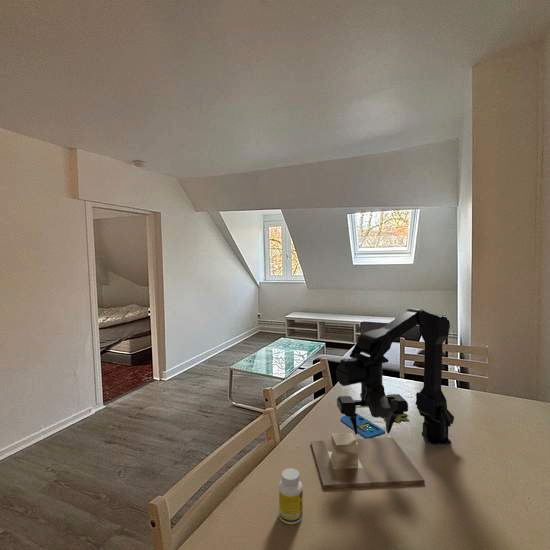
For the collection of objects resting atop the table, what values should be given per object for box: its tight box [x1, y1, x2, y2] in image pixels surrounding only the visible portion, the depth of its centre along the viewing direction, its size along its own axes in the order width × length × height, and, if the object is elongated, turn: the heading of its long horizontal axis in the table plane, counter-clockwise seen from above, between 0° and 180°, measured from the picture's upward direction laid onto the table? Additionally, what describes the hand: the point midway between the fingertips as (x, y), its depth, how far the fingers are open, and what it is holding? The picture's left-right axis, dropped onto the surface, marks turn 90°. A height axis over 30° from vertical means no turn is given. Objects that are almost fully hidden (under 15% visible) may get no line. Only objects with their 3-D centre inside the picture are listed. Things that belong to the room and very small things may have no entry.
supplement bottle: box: [278, 467, 304, 525], centre depth 74 cm, size 5×5×10 cm
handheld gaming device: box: [340, 412, 386, 439], centre depth 113 cm, size 8×1×15 cm
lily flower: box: [383, 412, 410, 424], centre depth 120 cm, size 12×12×5 cm
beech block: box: [331, 432, 358, 467], centre depth 93 cm, size 6×6×6 cm
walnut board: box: [310, 437, 426, 490], centre depth 93 cm, size 26×20×1 cm
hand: (371, 433), depth 93 cm, fingers open, 9 cm apart
